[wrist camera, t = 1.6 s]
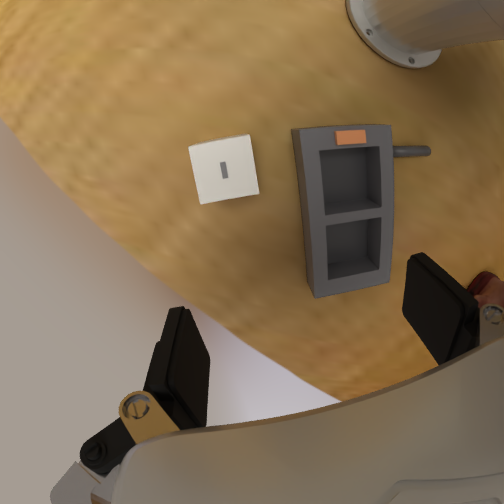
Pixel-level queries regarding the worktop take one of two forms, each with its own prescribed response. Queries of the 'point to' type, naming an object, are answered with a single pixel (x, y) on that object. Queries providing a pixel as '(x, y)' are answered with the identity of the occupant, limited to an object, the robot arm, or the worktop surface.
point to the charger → (224, 168)
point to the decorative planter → (487, 289)
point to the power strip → (347, 203)
